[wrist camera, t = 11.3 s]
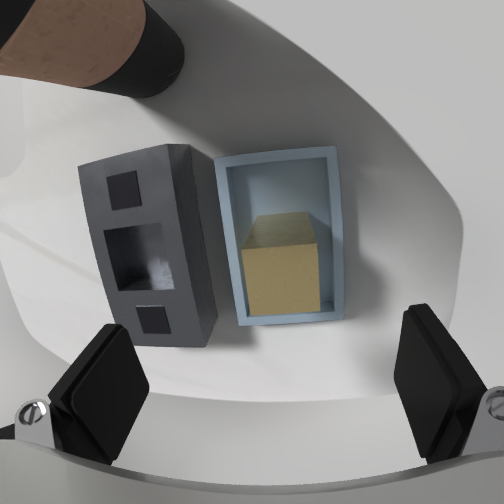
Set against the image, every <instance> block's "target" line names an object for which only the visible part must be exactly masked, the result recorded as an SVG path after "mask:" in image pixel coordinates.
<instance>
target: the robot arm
mask: <svg viewBox="0 0 504 504" xmlns="http://www.w3.org/2000/svg"><path fill="white" fill-rule="evenodd" d="M394 382H395V385H396V387H397V390H398V393H399V396H400V398H401V401H402V404H403V407H404V409H405V412H406V415H407V418H408V421H409V424H410V427H411V430H412V433H413V436H414V439H415V442H416V444H417V448H418V451H419V454H420V457H421V458H426V461H427V464H428V465H425V466H421V467H417V468H412V469H408V470H404V471H399V472H395V473H389V474H384V475H378V476H372V477H367V478H360V479H354V480H347V481H338V482H328V483H318V484H303V485H276V486H275V485H272V486H261V485H260V486H258V485H231V484H215V483H205V482H196V481H187V480H180V479H173V478H166V477H160V476H154V475H149V474H144V473H139V472H135V471H130V470H126V469H121V468H117V467H113V466H111V464H112V462H113V461H114V460H116V459H117V458H118V456H119V454H120V452H121V450H122V447H123V445H124V443H125V441H126V439H127V437H128V435H129V433H130V430H131V428H132V426H133V424H134V422H135V420H136V418H137V416H138V414H139V412H140V409H141V407H142V405H143V403H144V401H145V399H146V397H147V395H148V393H149V383H148V381H147V378H146V376H145V373H144V371H143V369H142V366H141V364H140V361H139V359H138V356H137V354H136V351H135V348H134V346H133V343H132V341H131V338H130V335H129V332H128V330H127V329H126V328H124V327H123V326H122V325H121V324H106V325H104V326H103V328H102V329H101V330H100V331H99V332H98V333H97V335H96V336H95V337H94V338H93V339H92V341H91V342H90V343H89V344H88V345H87V347H86V348H85V349H84V350H83V351H82V353H81V354H80V355H79V356H78V357H77V359H76V360H75V361H74V362H73V364H72V365H71V366H70V367H69V369H68V370H67V371H66V372H65V373H64V375H63V376H62V378H61V379H60V380H59V381H58V382H57V384H56V385H55V386H54V387H53V389H52V390H51V391H50V393H49V394H48V397H49V399H50V400H51V403H50V405H49V404H48V403H47V402H46V401H44V400H42V399H33V400H30V401H28V402H26V403H24V404H23V405H22V406H21V407H20V408H19V409H18V411H17V413H16V415H15V423H14V424H11V425H9V426H6V427H3V428H1V429H0V504H504V387H503V386H498V387H493V388H491V389H489V390H488V389H487V388H486V386H485V385H484V383H483V382H482V380H481V378H480V377H479V375H478V374H477V372H476V371H475V369H474V368H473V366H472V365H471V363H470V362H469V360H468V359H467V357H466V356H465V354H464V353H463V351H462V350H461V348H460V347H459V346H458V344H457V343H456V341H455V340H454V339H453V338H452V337H451V335H450V334H449V333H448V331H447V330H446V328H445V327H444V326H443V324H442V323H441V322H440V320H439V319H438V318H437V316H436V315H435V314H434V312H433V311H432V310H431V308H430V307H429V306H428V304H426V303H424V304H417V305H411V306H409V308H408V310H407V311H404V314H403V321H402V328H401V335H400V341H399V348H398V353H397V359H396V365H395V370H394Z"/></svg>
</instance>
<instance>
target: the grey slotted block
mask: <svg viewBox="0 0 504 504" xmlns="http://www.w3.org/2000/svg"><path fill="white" fill-rule="evenodd" d="M78 172H79V179H80V185H81V191H82V196H83V202H84V207H85V212H86V217H87V222H88V226H89V231H90V235H91V240H92V244H93V248H94V252H95V256H96V260H97V264H98V268H99V271H100V275H101V278H102V282H103V285H104V289H105V292H106V295H107V299H108V302H109V305H110V308H111V311H112V314H113V317H114V320H115V323H116V324H121V325H122V326H123V327H124V328H126V329H127V330H128V332H129V335H130V338H131V341H132V343H133V346H155V347H206V344H207V342H208V340H209V337H210V335H211V332H212V330H213V328H214V325H215V323H216V320H217V318H218V316H217V311H216V306H215V301H214V295H213V290H212V285H211V279H210V274H209V268H208V262H207V257H206V251H205V245H204V239H203V233H202V227H201V221H200V214H199V208H198V202H197V195H196V188H195V182H194V175H193V168H192V160H191V153H190V146H189V144H164V145H159V146H154V147H150V148H145V149H141V150H137V151H133V152H129V153H125V154H121V155H117V156H113V157H109V158H105V159H102V160H98V161H95V162H91V163H88V164H84V165H81V166H78Z"/></svg>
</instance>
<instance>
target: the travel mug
mask: <svg viewBox="0 0 504 504" xmlns="http://www.w3.org/2000/svg"><path fill="white" fill-rule="evenodd" d="M183 62H184V47H183V44H182V42H181V40H180V38H179V37H178V35H177V34H176V33H175V32H174V31H173V30H172V29H171V27H170V26H169V25H168V24H167V23H166V22H165V21H164V20H163V19H162V18H161V17H160V16H159V15H158V14H157V13H156V12H155V11H154V10H153V9H152V8H151V7H150V6H149V5H148V4H147V3H146V2H145V1H144V0H0V75H7V76H13V77H20V78H27V79H33V80H39V81H45V82H50V83H56V84H61V85H66V86H71V87H77V88H83V89H89V90H95V91H101V92H107V93H112V94H117V95H122V96H128V97H133V98H146V97H150V96H154V95H156V94H158V93H160V92H162V91H163V90H165V89H166V88H167V87H169V86H170V85H171V84H172V83H173V82H174V80H175V79H176V78H177V76H178V75H179V73H180V71H181V68H182V66H183Z"/></svg>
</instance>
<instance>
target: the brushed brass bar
mask: <svg viewBox="0 0 504 504" xmlns="http://www.w3.org/2000/svg"><path fill="white" fill-rule="evenodd" d="M241 252H242V259H243V266H244V273H245V280H246V287H247V294H248V301H249V308H250V315H251V316H255V315H272V314H288V313H302V312H314V311H320V290H319V268H318V251H317V242H316V238H315V235H314V232H313V228H312V225H311V222H310V219H309V216H308V212H307V211H301V212H290V213H278V214H268V215H257V217H256V220H255V222H254V224H253V226H252V228H251V230H250V232H249V234H248V237H247V239H246V241H245V243H244V245H243V247H242V249H241Z"/></svg>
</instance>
